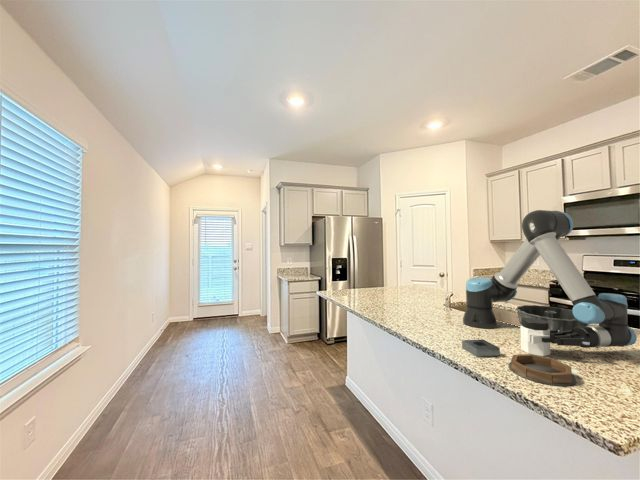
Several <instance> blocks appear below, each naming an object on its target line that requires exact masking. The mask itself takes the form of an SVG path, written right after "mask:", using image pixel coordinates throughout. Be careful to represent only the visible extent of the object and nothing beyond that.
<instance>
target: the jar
mask: <svg viewBox="0 0 640 480" xmlns="http://www.w3.org/2000/svg"><path fill="white" fill-rule="evenodd" d="M548 327H549V325H548V322H547V321H545V320H541V319H536V318H522V325H521V324H520V326H519V329H520V331H519V332H520V350H521V351H523V352H525V354H532V355H537V356H542V357H547V356H549V355H551V343H538V344H533V343H532V342H528V334H538V335H549V336H550V329H548Z"/></svg>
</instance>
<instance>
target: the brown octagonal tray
mask: <svg viewBox="0 0 640 480" xmlns="http://www.w3.org/2000/svg"><path fill="white" fill-rule="evenodd" d="M508 368H509V370H510V371H511V372H512V373H514V374H515V375H517V376H519V377H521V378H523V379H525V380H529V381H532V382H535V383H539V384H542V385H547V386H555V387H571V386H574V385H575V384H577V377H575V375H574V374H572V373H573V372H572V367H571V366H570V365H567V364H566V363H563V362H561V361H558V360H557V359H555V358H551V357H547V356H538V355H533V354H528V353H525V354H524V353H522V354H520V353H519V354H513V355H512V357H511V360H510V362H509V363H508Z"/></svg>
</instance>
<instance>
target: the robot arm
mask: <svg viewBox="0 0 640 480" xmlns="http://www.w3.org/2000/svg"><path fill="white" fill-rule="evenodd" d="M574 227H575V226H574V219H573V218H572V217H571V215H570V214H569V213H566V212H564V211H560V210H547V209H545V210H544V209H536V210H534V211H530V212H529V213H527V214H526V215H525V216H524V217H523V219H522V222H521V230H522V233H523V235H524V236H525V239H524V241H523V242H522V243H521V245H520V246H519V247H518V249H517V250H516V251H515V253H514V254H513V255H512V256H511V258H510V259H509V260H508V261H507V263H506V264H505V266H504V267H503V268H502V269H501V271H500V272H495V273H494V274H493V275H492V277H491V278H489V277H473V278H469V279H468V280H467V281H466V283H465V285H466V286H465V295H466V296H465V298H466V299H465V300H466V301H465V302H466V303H465V304H466V309H465V312H464V314H463V317H462V323H463V324H464V325H467V326H469V327H472V328H479V329H494V328H498V321H497V319H496V317H495V314H494V310H493V303H501V302H502V303H503V302H504V303H505V302H507V301H510V300H513V299H514V298H515V297H516V295H517V293H518V292H517V289H518V287H519V283H518V282H519V281H520V280H521V279H522V277H523V276H524V275H525V274H526V272H527V271H529V269H530V267H532V265H533V264H534V263H535V262H536V260H537V259H538V258H539V257H541V258H542V260H543V261H544V263H545V264H546V265H547V267H548V269H549V270H550V271H551V273H552V275H553V277H554V278H555V280H556V281H557V282H558V283H559V285H560V286H561V288H562V289H563V290H562V291H564V293H565V294H566V295H567V297H568V299H569V300H570V302H571V304H572V305H573V307H572V310H573V315H574V317H575V318H576V319H577V320H578V321H580V322H582V323H585V324H588V326H578V327H574V328H573V329H572V330H571V331H570V330H567V331H560V330H559V329H554V330H550V336H549V335H538V334H528V342H532V343H533V344H538V343H550V344H552V345H554V344H557V345H558V346H562V347H564V346H565V347H567V346H568V347H569V346H570V347H580V348H583V349H585V348H587V349H589V348H590V349H591V348H596V349H599V348H602V347H603V348H606V347H607V348H609V347H618V348H619V347H620V348H621V347H629V346H633V345H634V344H635V343H636V342H637V340H638V337H637V336H638V335H637V334H636V332H635V331H634V329H633V328H631V327H630V326H629V325H628V307H629V305H628V299H627V297H626V296H625V295H623V294H618V293H610V292H607V293H606V292H602V293H601V292H600V293H598V295H597V294H596V293H595V292H594V290H593V288H592V287H591V286H590V284H589V283H588V281H587V280H586V279H585V278H584V275H583V274H581V272H580V270H579V269H578V268H577V266H576V265H575V263H574V262H573V260H572V259H571V258H570V256H569V255H568V253H567V252H566V250H565V249H564V247H563V246H562V245H561V243H560V242H559V240H560V239H561V238H564V237H566V236H568V235H570V234H571V232H572V231H574V230H573V229H574ZM597 324H598V325H597Z"/></svg>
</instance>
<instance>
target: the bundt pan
mask: <svg viewBox="0 0 640 480" xmlns="http://www.w3.org/2000/svg"><path fill="white" fill-rule="evenodd" d="M515 309H516V311H517V316H518V321H519V323H520V326H521V325H522V318H536V319H541V320H545V321H547V322H548V325H549V327H548V329H550V330H554V329H559V330H560V331H567V330H570V331H571V330H572V329H573V328H574V327H578V326H589V324H585V323H582V322H580V321H578V320H577V319H576V318H575V317H574V315H573V309H567V308H566V309H565V308H563V307H555V306H549V305H535V304H531V305H529V304H524V305H519V306H517V307H515Z"/></svg>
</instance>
